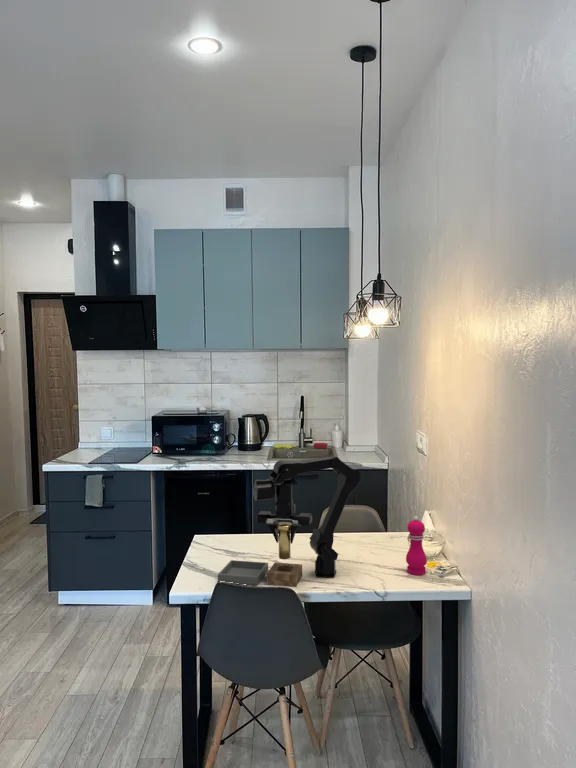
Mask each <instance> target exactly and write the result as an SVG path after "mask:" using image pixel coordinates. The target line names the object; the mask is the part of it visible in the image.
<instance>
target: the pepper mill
mask: <svg viewBox="0 0 576 768" xmlns="http://www.w3.org/2000/svg"><path fill="white" fill-rule="evenodd" d="M406 529H407V532H409V533H408V538H409V541H410V543H409V544H410V546H409V548H408V551H407V553H406V555H405V562H406V564H407V566H406V567H407V573H408V574H409V575H413V576H422V575H425V574H426V567H425V565H426V564H427V562H428V559H427V554H426V553H425V551H424V547H423V540H424V533H425V530H426V528H425V524H424V522H422V521H421V520H419V517H418V516H416V515H415V516H413V519H412V520H411V521H409V522H408V524H407V528H406Z"/></svg>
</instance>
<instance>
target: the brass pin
mask: <svg viewBox="0 0 576 768" xmlns="http://www.w3.org/2000/svg"><path fill="white" fill-rule="evenodd" d="M292 524H293V522H291V521H278V523H277V524H276V529H277V530H278V537H279V539H278V559H280V560H289V559H291V541H290V537H291V525H292Z"/></svg>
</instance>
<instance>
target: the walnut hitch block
mask: <svg viewBox="0 0 576 768" xmlns="http://www.w3.org/2000/svg"><path fill="white" fill-rule="evenodd" d="M266 577H267V578H266V579H267V581H266V582H267V583H266V585H269V586H279V587H280V586H283V587H293V588H294V587H295V588H297V586H298V585H297V584H299V583H300V581H301V579H302V577H303V564H302V563H301V564H300V563H287V562H274V563H273V564H272V565H271V567H270V568H269V569H268V572H267V573H266Z"/></svg>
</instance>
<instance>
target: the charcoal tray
mask: <svg viewBox="0 0 576 768" xmlns="http://www.w3.org/2000/svg"><path fill="white" fill-rule="evenodd" d="M268 571H269V562H266V561H265V562H262V561H249V560H248V561H247V560H237V559H236V560H235V559H233V560H232V559H231V560H230V561H229V562H228V563H226V565H225V566H224V567H223V568H222V569H221V570H220V571H219V572H218V573H217V583H218V582H220V581H225V582H233V583H239V584H246V585H245V586H248V585H255V586H254V587H258V586H259V584H260V583H261V582H262V580H263V579H264V577H265V576H267V572H268Z"/></svg>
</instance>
